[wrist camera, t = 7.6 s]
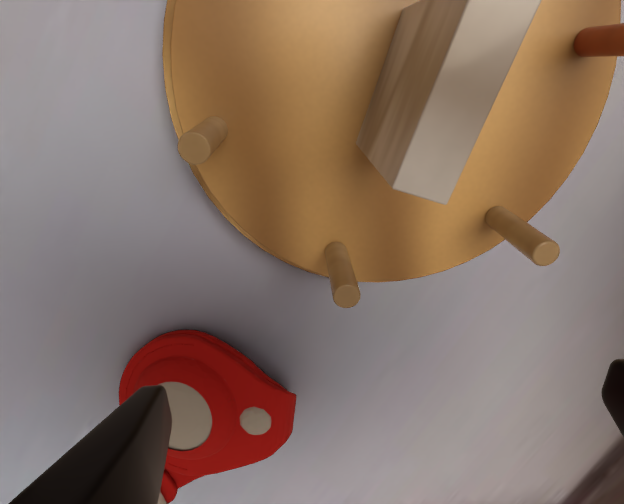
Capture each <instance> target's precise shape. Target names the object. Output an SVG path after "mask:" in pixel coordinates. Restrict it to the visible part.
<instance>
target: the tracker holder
mask: <svg viewBox="0 0 624 504" xmlns="http://www.w3.org/2000/svg"><path fill="white" fill-rule="evenodd" d="M152 385H162V386H164V387H165V389H166V392H167V397H168V401H169V406H170V410H171V415H172V429H171V435H170V440H169V446H168V451H167V457H166V462H165V467H164V473H163V478H162V484H161V489H160V494H159V499H158V504H168V503H170V502H171V501H173V499H174V498H175V496H176V494H177V489H178V488H180V487H182V486H184V485H186V484H187V483H189V482H191V481H193V480H195V479H197V478H199V477H202V476H204V475H209V474H215V473H220V472H224V471H228V470H232V469H235V468H239V467H242V466H246V465H249V464H253V463H255V462H258V461H261V460H264V459H266V458H268V457H269V456H271V455H272V454H274V453H275V452H276V451H277V450H278V449H279V448H280V447H281V446H282V445H283V444H284V443H285V442H286V441H287V439H288V438H289V436H290V435H291V433H292V429H293V421H294V412H295V404H296V395H295V394H294V393H291V392H289V391H287V390H286V389H285V388H283V387H282V386H281V385H280V384H279V383H277V382H276V381H274V380H273V379H271V378H270V377H269V376H267V375H266V374H265V373H264V372H263V371H261V370H260V369H259V368H258V367H257V366H256V365H255V364H254V363H253V362H252V361H251V360H250V359H248V358H247V357H246V356H245V355H243V354H242V353H240V352H239V351H237V350H236V349H234V348H233V347H231V346H230V345H228V344H227V343H225V342H223V341H221V340H220V339H218V338H216V337H214V336H212V335H209V334H207V333H204V332H201V331H197V330H177V331H172V332H168V333H165V334H163V335H160V336H158V337H157V338H155V339H153V340H152V341H150V342H149V343H147V344H146V345H145V346H144V347H143V348H141V349H140V350H139V351H138V352H137V353H136V354H135V355H134V356H133V357H132V358H131V360H130V361H129V362H128V364H127V366H126V368H125V370H124V372H123V375H122V378H121V381H120V387H119V405H121V404H122V403H123V402H125V401H126V400H127V399H128V398H129V397H130V396H131V395H133V394H134V393H135V392H136V391H137V390H138V389H140V388H141V387H143V386H152Z"/></svg>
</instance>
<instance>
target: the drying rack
mask: <svg viewBox="0 0 624 504" xmlns="http://www.w3.org/2000/svg"><path fill="white" fill-rule="evenodd" d="M620 14H621V0H175V4H174V9H173V19H172V29H171V39H170V58H171V80H172V87H173V94H174V100H175V107H176V111H177V115H178V118H179V122H180V126H181V129H182V133H183V135H182V136H181V137H180V139H179V141H178V152H179V154H180V156H181V157H182V158H183V159H184V160H185V161H186V162H188V163H190V164H194V165H196V167H197V169H198V171H199V173H200V174H201V176H202V178H203V180H204V181H205V183H206V185H207V187H208V188H209V190H210V191H211V193H212V194H213V195H214V197H215V198H216V199H217V201H218V202H219V203H220V205H221V206H222V208H223V209H224V210H225V211H226V212H227V213H228V214H229V215H230V216H231V218H232V219H233V220H234V221H235V222H236V223H237V224H238V225H239V226H240V227H241V228H242V229H243V230H244V231H245V232H247V233H248V234H249V235H250V236H252V237H253V238H254V239H255V240H256V241H258V242H259V243H260V244H261V245H263V246H264V247H266V248H268V249H269V250H271V251H272V252H274V253H275V254H277V255H279V256H280V257H282V258H284V259H286V260H288V261H290V262H292V263H294V264H296V265H299V266H301V267H303V268H305V269H308V270H311V271H314V272H317V273H320V274H324V275H327V276H329V279H330V284H331V289H332V295H333V300H334V302H335V303H336V304H337V305H338V306H340V307H342V308H350V307H353V306H355V305H356V304H357V303H358V301H359V300H360V290H359V287H358V284H357V281H368V282H384V281H400V280H406V279H413V278H419V277H423V276H427V275H431V274H434V273H438V272H442V271H445V270H447V269H450V268H452V267H455V266H457V265H460V264H463V263H465V262H467V261H469V260H471V259H473V258H475V257H477V256H479V255H481V254H483V253H485V252H486V251H488V250H490V249H491V248H493V247H494V246H496V245H497V244H499V243H500V242H502V241H503V240H507V241H508V242H509V243H510V244H511V245H513V246H514V247H515V248H516V249H518V250H519V251H520V252H521V253H522V254H524V255H525V256H526V257H527V258H529V259H530V260H531V261H532V262H533V263H535V264H536V265H539V266H546V265H549V264H551V263H553V262H554V261H555V260H556V259H557V258H558V256H559V253H560V249H559V246H558V244H557V243H556V242H555V241H553V240H552V239H550V238H549V237H547V236H546V235H544V234H543V233H541V232H540V231H538V230H537V229H535V228H534V227H532V226H531V225H529V224H528V223H527V222H528V221H529V220H530V219H531V218H532V217H533V216H534V215H535V214H536V213H537V212H538V211H539V210H540V209H541V208H542V207H543V206H544V205H545V204H546V203H547V202H548V201H549V200H550V199H551V197H552V196H553V195H554V194H555V192H556V191H557V190H558V189H559V187H560V186H561V185H562V184H563V182H564V181H565V180H566V179H567V177H568V176H569V174H570V173H571V171H572V170H573V168H574V167H575V165H576V163H577V162H578V160H579V159H580V157H581V156H582V154H583V152H584V150H585V148H586V146H587V144H588V142H589V140H590V138H591V136H592V134H593V132H594V130H595V129H596V127H597V124H598V121H599V119H600V116H601V113H602V111H603V108H604V105H605V103H606V100H607V97H608V94H609V90H610V86H611V82H612V78H613V74H614V70H615V67H616V60H617V56H624V23H621V24H620Z"/></svg>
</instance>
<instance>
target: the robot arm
mask: <svg viewBox="0 0 624 504" xmlns="http://www.w3.org/2000/svg"><path fill="white" fill-rule="evenodd" d="M602 399H603V402H604V404H605V406H606V407H607V409H608V411H609V413H610V414H611V416H612V418H613V420H614V421H615V423H616V425H617V426H618V428H619V430H620V432H621V433H622V435H623V437H624V359H617V360H614V361H613V362H612V363H611V364H610V367H609V370H608V373H607V376H606V379H605V382H604V385H603V388H602ZM171 429H172V415H171V410H170V406H169V401H168V397H167V392H166V389H165V387H164V386H162V385H152V386H143V387H141V388H140V389H138V390H137V391H136V392H135V393H134V394H133V395H131V396H130V397H129V398H128V399H127V400H126V401H125V402H123V403H122V404H121V405H120V406H119V407H118V408H117V409H115V410H114V411H113V412H112V413H111V414H110V415H109V416H108V417H106V418H105V419H104V420H103V421H102V422H101V423H100V424H98V425H97V426H96V427H95V428H94V429H93V430H92V431H90V432H89V433H88V434H87V435H86V436H85V437H84V438H83V439H81V440H80V441H79V442H78V443H77V444H76V445H75V446H73V447H72V448H71V449H70V450H69V451H68V452H67V453H65V454H64V455H63V456H62V457H61V458H60V459H59V460H57V461H56V462H55V463H54V464H53V465H52V466H51V467H50V468H48V469H47V470H46V471H45V472H44V473H43V474H42V475H40V476H39V477H38V478H37V479H36V480H35V481H34V482H32V483H31V484H30V485H29V486H28V487H27V488H26V489H24V490H23V491H22V492H21V493H20V494H19V495H18V496H17V497H15V498H14V499H13V500H12V501H11V502H10V503H9V504H158V499H159V494H160V489H161V484H162V478H163V473H164V467H165V462H166V457H167V451H168V446H169V440H170V435H171Z"/></svg>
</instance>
